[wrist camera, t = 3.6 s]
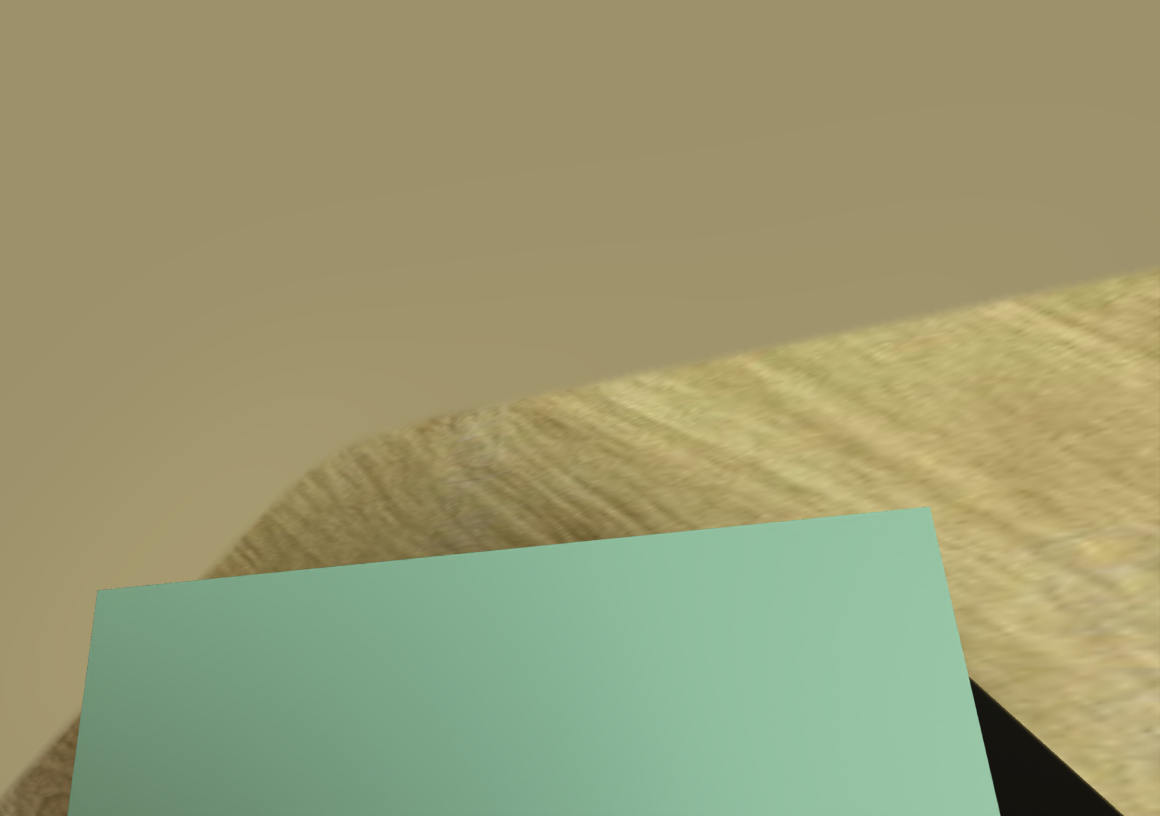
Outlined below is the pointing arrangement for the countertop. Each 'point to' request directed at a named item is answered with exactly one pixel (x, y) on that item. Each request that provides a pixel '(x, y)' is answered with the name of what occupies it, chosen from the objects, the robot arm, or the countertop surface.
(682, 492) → the countertop surface
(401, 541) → the countertop surface
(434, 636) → the teal block
